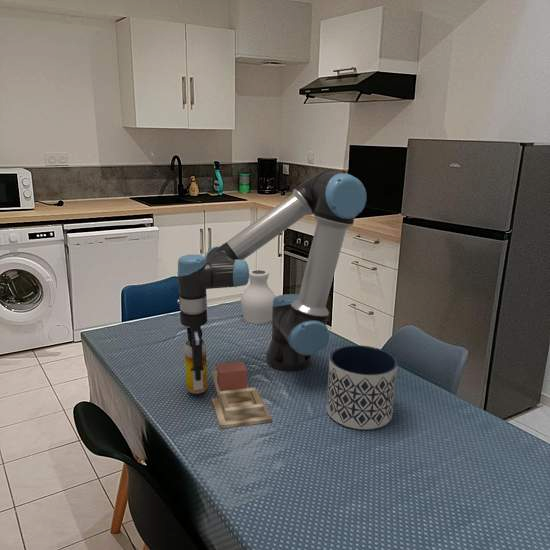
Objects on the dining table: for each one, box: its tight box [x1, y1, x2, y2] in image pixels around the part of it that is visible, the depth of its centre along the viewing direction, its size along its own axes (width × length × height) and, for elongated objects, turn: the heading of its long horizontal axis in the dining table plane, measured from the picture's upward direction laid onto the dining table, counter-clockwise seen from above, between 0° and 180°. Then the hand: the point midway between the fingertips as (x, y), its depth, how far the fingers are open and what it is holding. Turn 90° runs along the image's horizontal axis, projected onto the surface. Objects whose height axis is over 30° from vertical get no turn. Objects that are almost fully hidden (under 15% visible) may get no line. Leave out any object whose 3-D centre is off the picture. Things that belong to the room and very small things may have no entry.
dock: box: [210, 369, 273, 430], centre depth 152 cm, size 14×31×4 cm, turn 15°
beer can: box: [183, 339, 208, 394], centre depth 151 cm, size 6×6×15 cm
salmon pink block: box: [216, 360, 248, 391], centre depth 156 cm, size 8×6×6 cm
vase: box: [240, 268, 276, 325], centre depth 208 cm, size 14×14×20 cm
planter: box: [326, 344, 398, 430], centre depth 143 cm, size 18×18×16 cm
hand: (196, 383), depth 153 cm, fingers closed on beer can, 6 cm apart
